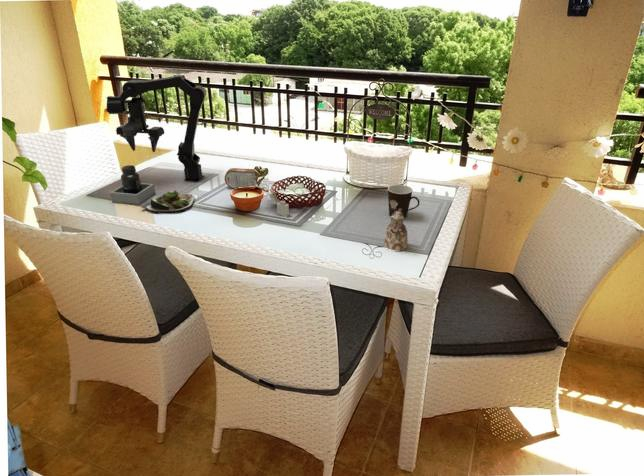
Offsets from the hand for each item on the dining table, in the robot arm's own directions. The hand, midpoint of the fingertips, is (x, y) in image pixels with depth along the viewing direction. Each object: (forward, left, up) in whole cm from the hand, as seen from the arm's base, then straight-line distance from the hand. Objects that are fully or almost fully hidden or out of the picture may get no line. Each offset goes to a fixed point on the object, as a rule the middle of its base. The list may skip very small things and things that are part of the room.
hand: (144, 151), depth 188 cm
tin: (-43, 0, -13) cm, 45 cm away
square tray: (-5, +19, -13) cm, 23 cm away
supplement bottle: (-5, +18, -13) cm, 23 cm away
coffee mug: (-108, +14, -13) cm, 110 cm away
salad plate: (-22, +22, -14) cm, 34 cm away
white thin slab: (-65, +21, -13) cm, 70 cm away
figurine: (-108, +36, -13) cm, 115 cm away
